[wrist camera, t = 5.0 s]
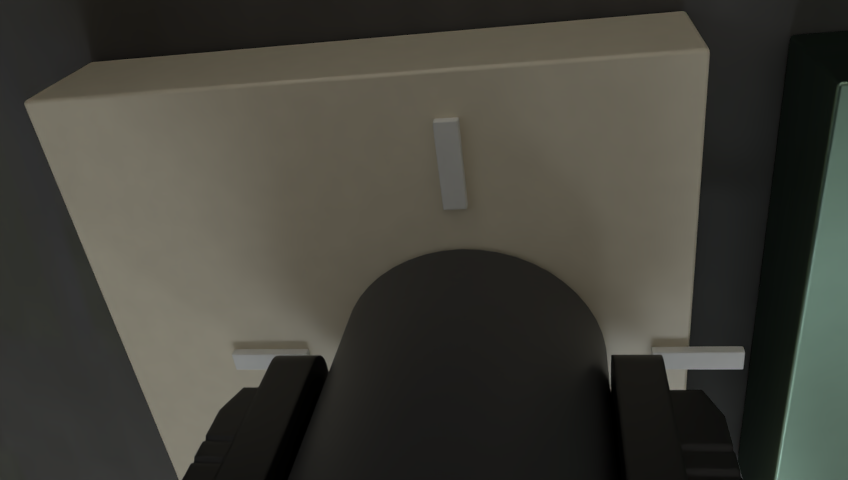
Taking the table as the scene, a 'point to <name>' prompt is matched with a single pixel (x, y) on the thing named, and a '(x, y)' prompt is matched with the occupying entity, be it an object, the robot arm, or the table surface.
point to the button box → (804, 280)
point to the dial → (465, 379)
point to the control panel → (379, 189)
